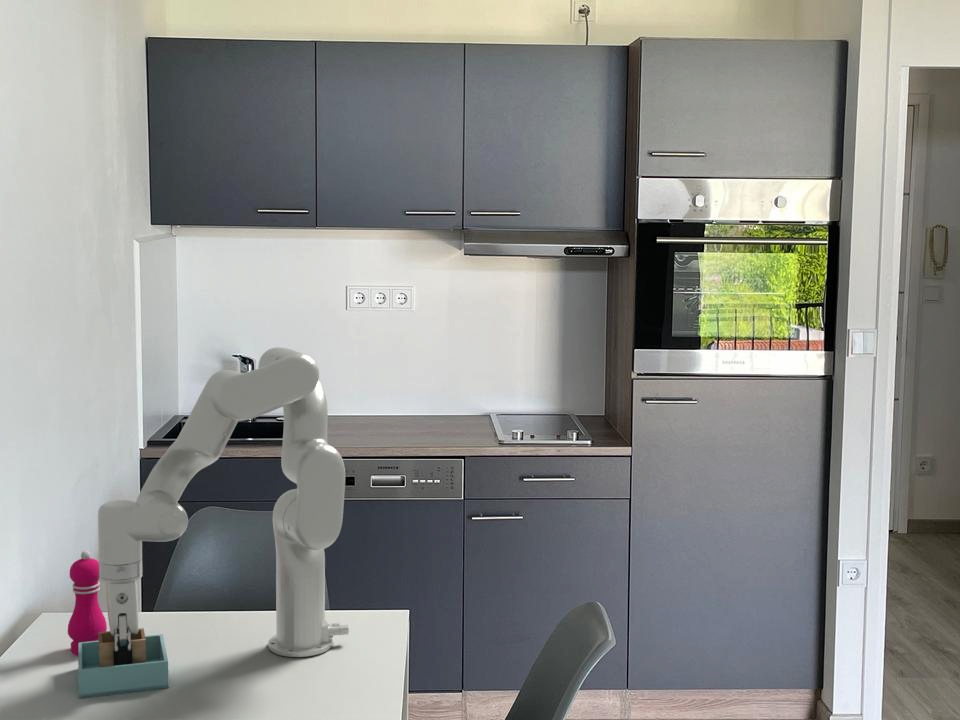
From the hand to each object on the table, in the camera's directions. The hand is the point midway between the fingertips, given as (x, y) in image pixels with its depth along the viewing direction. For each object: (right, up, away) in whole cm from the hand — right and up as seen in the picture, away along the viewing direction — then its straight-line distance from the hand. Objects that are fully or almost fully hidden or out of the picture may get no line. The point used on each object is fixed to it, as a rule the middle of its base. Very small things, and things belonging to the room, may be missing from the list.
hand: (122, 663), depth 205 cm
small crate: (0, -1, 0) cm, 1 cm away
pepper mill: (-11, -1, +13) cm, 17 cm away
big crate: (0, -3, 0) cm, 3 cm away
